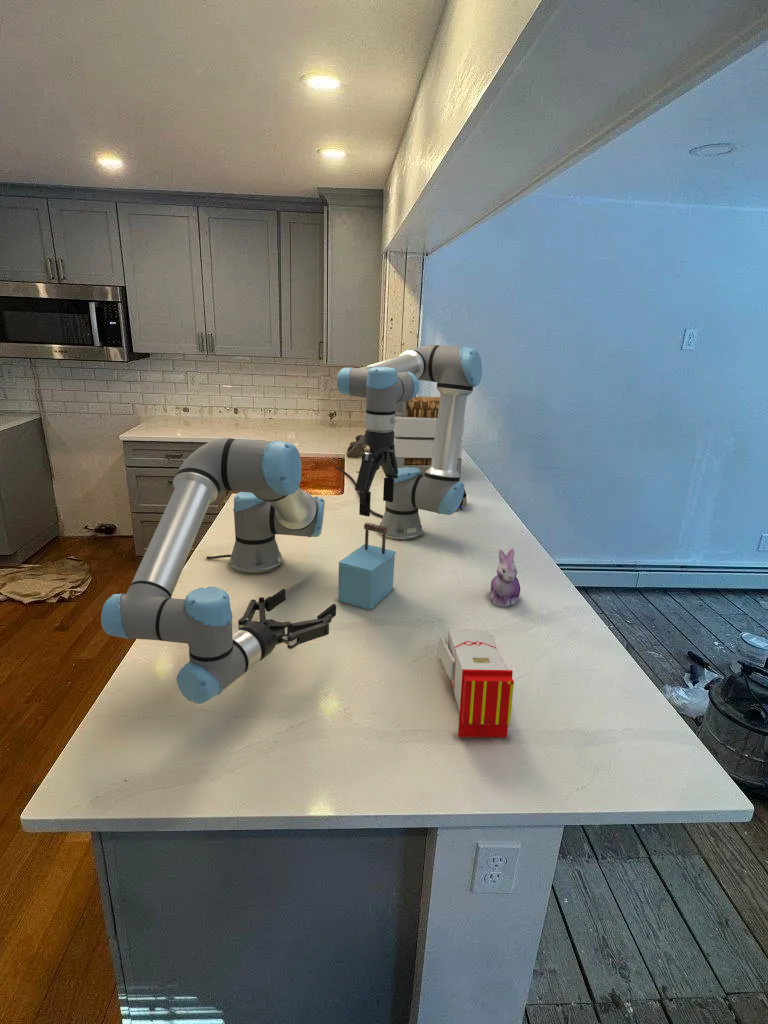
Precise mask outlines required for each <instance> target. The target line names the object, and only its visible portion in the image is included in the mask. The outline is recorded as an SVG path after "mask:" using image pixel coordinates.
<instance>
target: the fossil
mask: <svg viewBox="0 0 768 1024" xmlns="http://www.w3.org/2000/svg"><path fill="white" fill-rule="evenodd" d="M354 440H355V441H351V442H350V443H349V446H348V447H347V450H346V456H347V457H348V458H352V457H355V456H357V455H359V454H360V453H361V452H362V453H363V452H365V449H366V448H367V446H368V445H366V444H365V434H358V435H356V436H355V438H354ZM368 447H369V446H368Z"/></svg>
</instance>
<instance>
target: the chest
mask: <svg viewBox="0 0 768 1024" xmlns="http://www.w3.org/2000/svg"><path fill="white" fill-rule="evenodd" d="M395 558H396V554H395V555H394V556H393V557H391V558H390V559H389V560H388V561H386V562H385V563H384V564H383V565H381V566H380V567H379V568H378V569H376V570H375V571H374V572H373V573H368V572H364V571H360V570H357V569H353V568H349V567H345V566H342V565H339V564H338V586H337V587H338V589H337V590H338V591H337V593H338V594H337V600H338V602H341V603H345V604H348V605H352V606H354V607H355V606H356V607H359V608H362V609H366V610H368V611H371V610H372V609H373V608H374V607H375V606H377V605H378V604H379V603H380V602H381V601H382V600H383V599H384V598H385V597H386V596H387V595H388V594H389V593H390V592H392V590H394V578H395V577H394V575H395V560H396V559H395Z"/></svg>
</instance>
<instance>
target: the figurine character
mask: <svg viewBox="0 0 768 1024" xmlns="http://www.w3.org/2000/svg"><path fill="white" fill-rule="evenodd" d="M467 503H468V498H467V492H466V489H465V488H464V495H463V498H462V501H461V504H460V506H459V507H458V509H460V511H463V507H464V508H465V507H467Z"/></svg>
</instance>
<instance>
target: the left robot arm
mask: <svg viewBox="0 0 768 1024" xmlns="http://www.w3.org/2000/svg"><path fill="white" fill-rule="evenodd" d="M302 466H303V464H302V460H301V454H300V451H299V449H298V448H297V447H296V445H294V443H292V442H288V441H282V440H278V439H277V440H260V439H245V438H244V439H243V438H232V437H224V438H218V439H217V438H216V439H213V440H211V441H209V442H206V443H205V444H202V445H201V446H200V447H198V448H197V449H196V450H194V451H193V452H192V453H191V454H190V455H189V456H188V457H187V458H186V459H185V460H184V461H183V462H182V464H181V465H180V466H179V468H178V470H177V471H176V473H175V475H174V477H173V479H172V488H173V489H174V490H173V492H172V493H171V496H170V498H169V500H168V503H167V505H166V506H165V509H164V512H163V513H162V516H161V518H160V520H159V522H158V525H157V527H156V529H155V531H154V533H153V535H152V538H151V540H150V542H149V544H148V546H147V548H146V550H145V553H144V555H143V557H142V559H141V561H140V564H139V565H138V568H137V570H136V572H135V575H134V577H133V579H132V580H131V583H130V585H129V587H128V589H127V590H126V593H122V592H121V593H114V594H112V595H110V596H109V598H107V599H106V600H105V602H104V603H103V606H102V609H101V614H100V623H101V628H102V630H103V631H104V633H106V634H107V635H108V636H110V637H117V638H122V639H127V640H133V639H134V640H146V641H147V640H148V641H161V642H167V643H179V644H187V646H188V655H189V656H188V657H189V661H188V662H187V663H185V664H184V665H183V666H182V667H181V668H179V670H178V673H177V675H176V684H177V688H178V690H179V691H180V693H181V694H182V696H184V698H185V699H186V700H187V701H189V702H192V703H194V704H196V705H202V704H205V703H206V704H207V702H209V701H210V700H212V699H213V698H215V697H216V696H219V695H221V694H222V692H223V691H224V690H225V689H227V688H228V687H229V686H230V685H232V684H233V683H235V681H237V680H238V679H239V678H241V677H242V676H243V675H244V674H245V673H247V672H248V671H249V670H251V669H252V668H253V667H254V666H256V665H257V664H258V663H259V662H261V661H262V660H263V659H265V658H266V657H267V656H269V655H270V654H272V652H273V651H274V649H275V648H276V646H277V645H280V644H282V643H284V644H286V645H287V649H289V650H293V649H294V648H296V647H298V645H301V644H304V643H307V642H310V641H313V640H317V639H319V638H322V637H325V636H329V634H330V623H332V620H333V618H335V617H336V616H337V604H336V603H332V604H330V605H329V606H328V607H327V608H326V609H324V610H323V611H322V612H320V613H319V614H318V615H316V618H315V619H308V620H301V621H296V622H291V621H284V622H282V621H277V620H274V619H273V618H269V619H267V615H266V612H267V613H270V611H272V610H274V609H275V608H276V607H278V606H280V605H281V604H283V603H284V602H286V601H287V589H285V588H282V589H280V590H279V591H278V592H276V593H274V594H273V595H270V596H268V597H266V598H265V597H263V596H260V597H259V598H258V601H257V600H256V599H251V600H250V601H249V602H248V605H247V607H246V609H245V612H244V614H243V615H242V616H241V617H240V618H239V619H238V620H237V627H238V629H237V630H235V631H233V612H232V607H231V599H230V595H229V594H228V592H227V591H226V590H224V589H223V588H220V587H216V586H207V587H198V588H196V589H195V588H194V589H193V590H191V591H190V592H188V593H187V594H186V596H185V598H175V597H173V594H174V591H175V589H176V587H177V585H178V582H179V580H180V577H181V575H182V572H183V569H184V567H185V565H186V562H187V560H188V557H189V555H190V553H191V550H192V548H193V545H194V542H195V540H196V538H197V535H198V533H199V531H200V528H201V525H202V523H203V522H204V519H205V516H206V513H207V511H208V508H209V506H210V504H212V503H214V502H215V501H217V499H218V496H219V494H220V493H221V492H225V491H227V492H237V494H235V496H234V498H233V509H232V510H233V511H232V512H233V519H234V520H233V521H234V536H235V538H234V539H235V540H234V541H235V542H234V545H233V548H232V551H231V554H221V555H214V556H206V559H208V560H214V559H222V558H230V559H229V561H230V563H229V564H230V565H229V566H230V567H231V569H232V570H234V571H235V572H238V573H241V574H247V575H259V574H260V575H261V574H267V573H270V572H273V571H275V570H277V569H279V568H280V567H281V565H282V564H283V556H282V553H281V552H280V549H279V545H278V543H277V540H276V535H283V536H295V537H307V538H317V537H320V536H321V535H322V531H323V525H324V515H325V514H324V513H325V499H324V498H323V497H319V496H312V495H311V494H310V493H309V492H307V491H305V490H303V489H302V488H301V487H300V485H301V481H302V474H303V473H302V472H303V467H302ZM257 611H258V614H259V617H258V618H259V620H253V619H254V617H255V615H256V613H257ZM285 629H286V630H285ZM286 631H287V632H286Z"/></svg>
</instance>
